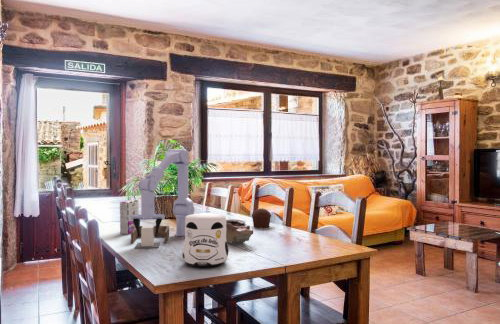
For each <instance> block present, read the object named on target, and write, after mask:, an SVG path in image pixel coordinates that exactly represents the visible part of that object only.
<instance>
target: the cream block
mask: <svg viewBox="0 0 500 324" xmlns="http://www.w3.org/2000/svg"><path fill="white" fill-rule="evenodd" d="M141 226H142V228H141V237H140V240H141V241H140V243H141V246H153V245H154V242H155V236H154V226H155V225H141Z"/></svg>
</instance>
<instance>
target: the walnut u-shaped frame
mask: <svg viewBox="0 0 500 324" xmlns="http://www.w3.org/2000/svg"><path fill="white" fill-rule="evenodd" d="M142 226H143V225H140V236H138V234H137V230H136V227H135V229H134V230H133V231H132V232H131V234H130V244H131V245H132V244H134V243H135V242H136V240H137V239H138V238H139V237H140V238H141V228H142ZM153 226H154V237H164V244H167V243H168V240H169V237H170V225H160V226H159V230H158V235H157V236H156V225H153Z"/></svg>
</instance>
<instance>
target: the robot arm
mask: <svg viewBox="0 0 500 324" xmlns="http://www.w3.org/2000/svg"><path fill="white" fill-rule="evenodd" d="M171 164H173V165H174V166H176V168H177V198H176V200H174V201H173V207H172V214H173V215H174V217H175V218H176V220H175V221H176V222H175V223H176V224H175V225H176V226H175V228H176V229H175V230H176V231H175V234H174V236H175V237H185V218H186V216H187V215H191V214H195V206H194V201H193V200H192V199H190V198H189V165H190V153H189V152H188V150H187V149H185V148H168V149H167V150H166V151H165V152H164V157H163V159H162V160H161V161H160V163H159V165H158V166H154V167H153V168H152V169H151V171H150V172H149V173H148V174H147V175H146V176H145V177H144V178H141V179H140V180H139V182H138V185H137V187H138V189H139V193H140V195H141V197H140V200H141V201H140V204H141V206H140V208H141V209H140V211H141V212H140V214H138V215H131V220H133V223H134V225H135V227H136V230H137V234H138V236H140V226H141V220H155V226H156V236H155V237H158V236H157V235H158V230H159V226H161V223H162V222H163V220H165V214H158V213H157V214H156V213H155V192H156V190H157V189H158V185H159V184H160V183H159V182H160V181H161V180H162V178H164V175H165V171H167V169H168V168H169V167H170V166H171Z"/></svg>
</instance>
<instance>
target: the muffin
mask: <svg viewBox="0 0 500 324" xmlns="http://www.w3.org/2000/svg"><path fill="white" fill-rule="evenodd" d="M251 218H252V224H253V228H257V229H268V228H270V224H271V218H272V214H271V212H270V211H269V210H268V209H265V208H256V209H255V210H254V211H253V212H252V214H251Z"/></svg>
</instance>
